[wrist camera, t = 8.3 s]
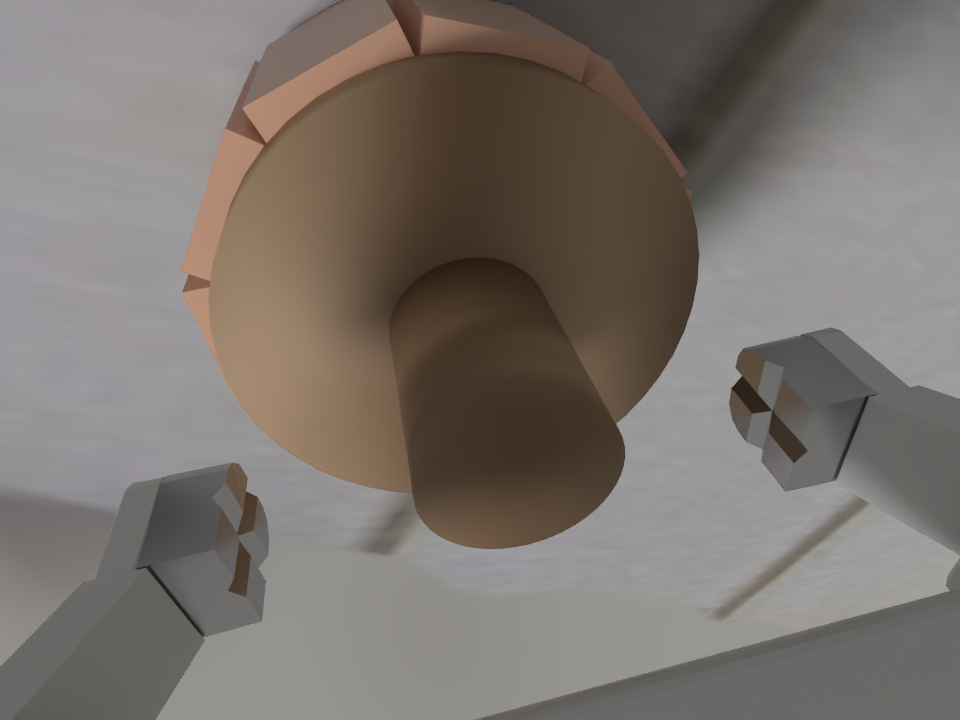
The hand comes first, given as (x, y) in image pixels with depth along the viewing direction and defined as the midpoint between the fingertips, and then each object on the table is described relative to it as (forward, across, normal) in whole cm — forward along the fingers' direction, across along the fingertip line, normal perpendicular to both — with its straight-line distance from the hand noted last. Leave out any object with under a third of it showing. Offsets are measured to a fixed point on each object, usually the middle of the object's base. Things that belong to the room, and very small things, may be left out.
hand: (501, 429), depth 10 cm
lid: (+4, 0, 0) cm, 4 cm away
